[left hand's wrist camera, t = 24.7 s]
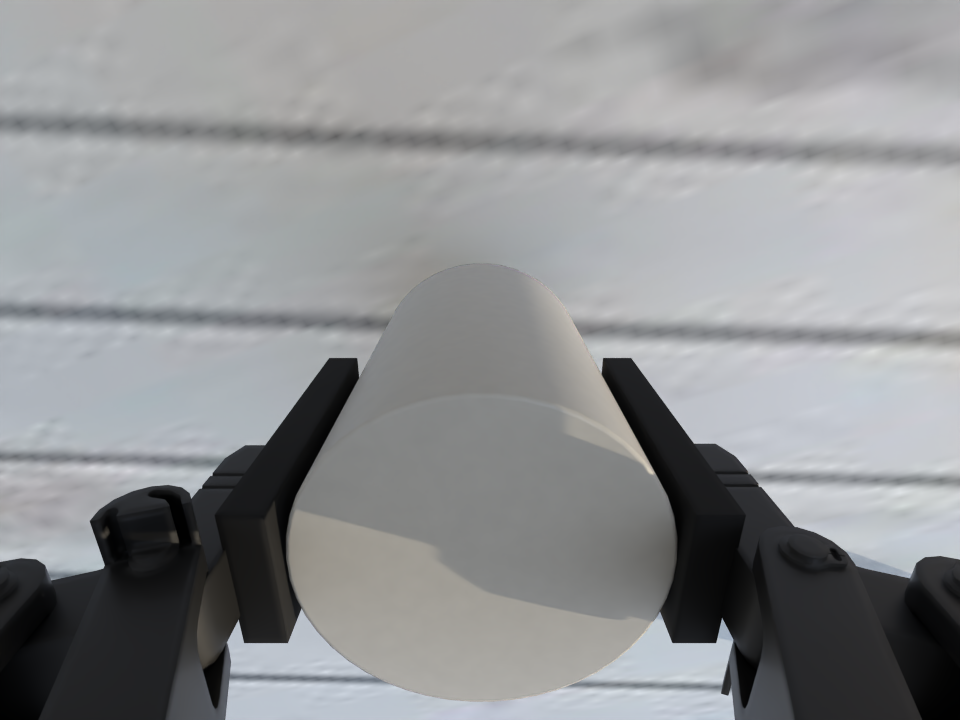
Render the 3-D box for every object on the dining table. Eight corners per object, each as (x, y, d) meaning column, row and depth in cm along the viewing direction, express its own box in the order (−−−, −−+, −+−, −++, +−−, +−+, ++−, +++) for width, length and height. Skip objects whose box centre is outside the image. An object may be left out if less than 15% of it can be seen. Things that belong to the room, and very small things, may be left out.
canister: (530, 226, 16) (591, 319, 7) (607, 399, 18) (727, 635, 9) (346, 317, 17) (202, 496, 8) (440, 470, 19) (406, 742, 10)
